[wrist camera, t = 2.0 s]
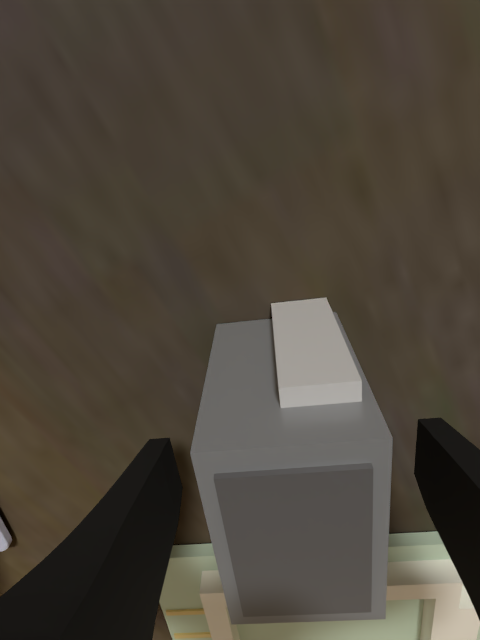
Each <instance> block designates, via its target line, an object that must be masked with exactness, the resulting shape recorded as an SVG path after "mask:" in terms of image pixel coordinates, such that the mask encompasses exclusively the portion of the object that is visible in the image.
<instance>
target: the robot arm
mask: <svg viewBox="0 0 480 640" xmlns="http://www.w3.org/2000/svg"><path fill="white" fill-rule="evenodd" d="M414 474H415V477H416V480H417V483H418V486H419V489H420V492H421V495H422V497H423V500H424V503H425V506H426V508H427V511H428V513H429V515H430V517H431V519H432V521H433V523H434V525H435V527H436V529H437V531H438V534H439V536H440V538H441V540H442V542H443V544H444V546H445V548H446V550H447V552H448V554H449V556H450V558H451V560H452V562H453V564H454V566H455V568H456V570H457V572H458V574H459V576H460V579H461V581H462V583H463V585H464V587H465V589H466V591H467V593H468V595H469V597H470V600H471V602H472V604H473V606H474V609H475V611H476V613H477V616H478V618H479V621H480V450H479V449H478V448H477V447H476V446H474V445H473V444H472V443H471V442H469V441H468V440H467V439H466V438H465V437H463V436H462V435H461V434H460V433H459V432H457V431H456V430H455V429H454V428H453V427H451V426H450V425H449V424H448V423H447V422H445V421H444V420H443V419H442V418H430V419H418V428H417V442H416V456H415V469H414ZM182 488H183V487H182V484H181V480H180V476H179V472H178V468H177V465H176V461H175V457H174V453H173V450H172V446H171V442H170V438H160V439H150V440H149V441H148V442H147V443H146V444H145V446H144V447H143V448H142V449H141V451H140V452H139V453H138V454H137V456H136V457H135V458H134V460H133V461H132V462H131V463H130V465H129V466H128V467H127V469H126V470H125V471H124V472H123V474H122V475H121V476H120V477H119V479H118V480H117V481H116V482H115V483H114V485H113V486H112V487H111V488H110V490H109V491H108V492H107V493H106V494H105V496H104V497H103V498H102V499H101V500H100V502H99V503H98V504H97V505H96V506H95V507H94V508H93V509H92V511H91V512H90V513H89V514H88V515H87V516H86V517H85V518H84V519H83V521H82V522H81V523H80V524H79V525H78V526H77V527H76V528H75V529H74V530H73V531H72V532H71V533H70V534H69V535H68V537H67V538H66V539H65V540H64V541H63V542H62V543H60V544H59V545H58V546H57V547H56V548H55V549H54V550H53V551H52V552H51V553H50V554H49V555H48V556H47V557H46V558H45V559H44V560H43V561H42V562H40V563H39V564H38V565H37V566H36V567H35V568H34V569H32V570H31V571H30V572H29V573H28V574H27V575H25V576H24V577H23V578H22V579H21V580H20V581H19V582H17V583H16V584H15V585H14V586H13V587H12V588H10V589H9V590H8V591H7V592H6V593H5V594H3V595H2V596H1V597H0V640H152V638H153V631H154V625H155V619H156V614H157V610H158V605H159V600H160V596H161V592H162V588H163V584H164V580H165V576H166V572H167V568H168V563H169V559H170V555H171V551H172V547H173V543H174V539H175V534H176V530H177V526H178V521H179V513H180V506H181V497H182ZM11 542H12V538H11V535H10V534H9V532H8V530H7V528H6V526H5V524H4V523H3V521H2V519H1V517H0V551H4V550H6V549H8V547H9V545H10V544H11Z"/></svg>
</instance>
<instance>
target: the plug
mask: <svg viewBox="0 0 480 640" xmlns="http://www.w3.org/2000/svg"><path fill="white" fill-rule="evenodd" d="M271 309H272V319H263V320H253V321H244V322H234V323H224V324H217V325H216V330H215V335H214V340H213V345H212V350H211V354H210V359H209V364H208V369H207V374H206V379H205V384H204V388H203V393H202V398H201V403H200V408H199V413H198V418H197V422H196V427H195V432H194V437H193V442H192V447H191V451H190V455H191V459H192V463H193V467H194V471H195V475H196V479H197V484H198V488H199V492H200V496H201V500H202V504H203V509H204V513H205V517H206V521H207V525H208V529H209V534H210V538H211V542H212V546H213V550H214V554H215V558H216V563H217V567H218V571H219V575H220V579H221V583H222V588H223V592H224V596H225V600H226V604H227V608H228V612H229V617H230V621H231V625H235V624H264V623H292V622H321V621H349V620H377V619H386V595H387V569H388V544H389V519H390V494H391V468H392V443H393V438H392V435H391V433H390V431H389V429H388V426H387V424H386V422H385V420H384V418H383V415H382V413H381V411H380V409H379V406H378V404H377V402H376V400H375V398H374V395H373V393H372V391H371V389H370V386H369V384H368V382H367V380H366V378H365V375H364V373H363V371H362V369H361V366H360V364H359V362H358V360H357V358H356V355H355V353H354V351H353V349H352V346H351V344H350V342H349V340H348V338H347V335H346V333H345V331H344V329H343V326H342V324H341V322H340V320H339V318H338V315H337V313H336V312H332V310H331V308H330V305H329V303H328V301H327V298H318V299H308V300H299V301H289V302H280V303H271Z"/></svg>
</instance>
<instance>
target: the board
mask: <svg viewBox="0 0 480 640" xmlns="http://www.w3.org/2000/svg"><path fill="white" fill-rule="evenodd" d="M159 603H160V606H161V608H162V611H163V614H164V617H165V620H166V622H167V625H168V628H169V631H170V634H171V637H172V639H173V640H480V621H479V618H478V616H477V613H476V611H475V609H474V606H473V604H472V602H471V600H470V597H469V595H468V593H467V591H466V589H465V587H464V585H463V583H462V581H461V579H460V576H459V574H458V572H457V570H456V568H455V566H454V564H453V562H452V560H451V558H450V556H449V554H448V552H447V550H446V548H445V546H444V544H443V542H442V540H441V538H440V536H439V534H438V531H435V532H416V533H398V534H389V544H388V569H387V595H386V619H377V620H349V621H321V622H292V623H264V624H235V625H231V621H230V617H229V612H228V608H227V604H226V600H225V596H224V592H223V588H222V583H221V579H220V575H219V571H218V567H217V563H216V558H215V554H214V550H213V546H212V543H210V544H192V545H173V547H172V551H171V555H170V559H169V563H168V568H167V572H166V576H165V580H164V584H163V588H162V592H161V596H160V600H159Z"/></svg>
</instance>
